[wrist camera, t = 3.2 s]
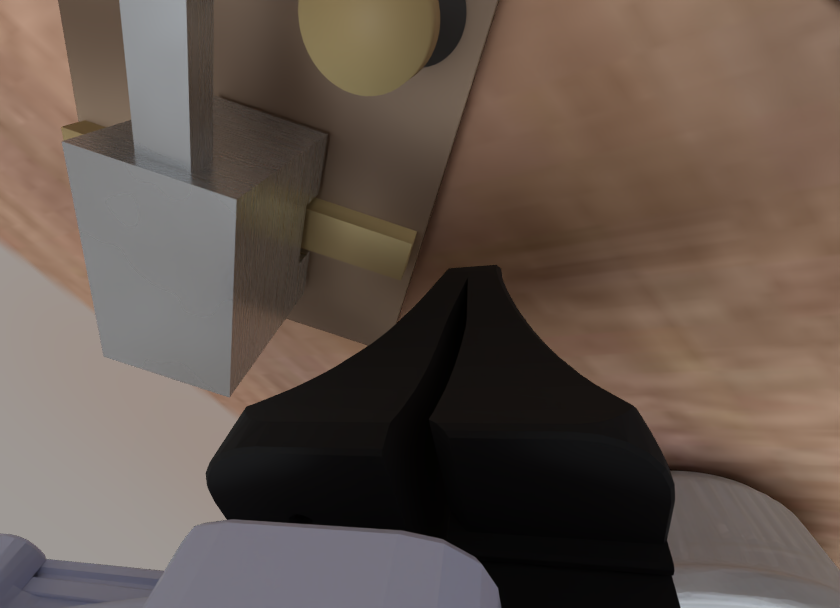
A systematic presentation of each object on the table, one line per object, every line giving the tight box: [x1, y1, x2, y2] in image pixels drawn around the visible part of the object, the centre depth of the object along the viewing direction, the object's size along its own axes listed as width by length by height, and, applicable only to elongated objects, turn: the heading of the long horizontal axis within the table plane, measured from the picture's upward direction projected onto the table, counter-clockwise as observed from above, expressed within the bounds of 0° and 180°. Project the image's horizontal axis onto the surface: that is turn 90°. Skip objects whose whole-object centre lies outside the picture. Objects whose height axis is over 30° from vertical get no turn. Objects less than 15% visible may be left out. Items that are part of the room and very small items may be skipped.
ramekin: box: [667, 471, 840, 608], centre depth 18 cm, size 11×11×5 cm
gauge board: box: [58, 0, 499, 346], centre depth 10 cm, size 13×10×6 cm
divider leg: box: [62, 0, 328, 397], centre depth 10 cm, size 8×3×4 cm, turn 165°
